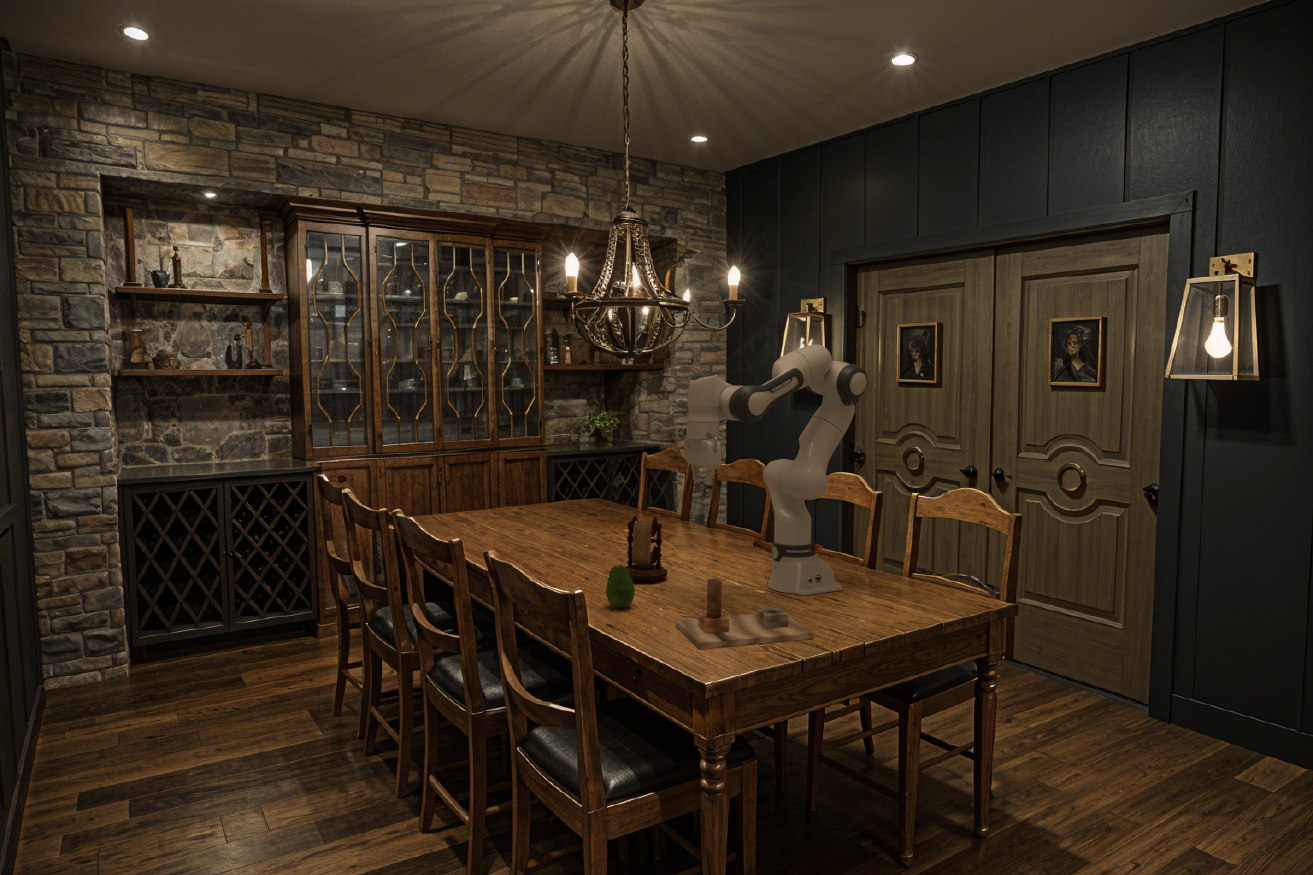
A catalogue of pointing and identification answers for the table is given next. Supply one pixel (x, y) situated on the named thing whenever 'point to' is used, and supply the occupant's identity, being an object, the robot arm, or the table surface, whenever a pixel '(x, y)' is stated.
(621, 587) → the avocado
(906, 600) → the table surface
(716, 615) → the brown wooden peg
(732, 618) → the subfloor panel
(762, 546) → the primitive tool
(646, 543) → the scroll
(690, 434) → the robot arm
